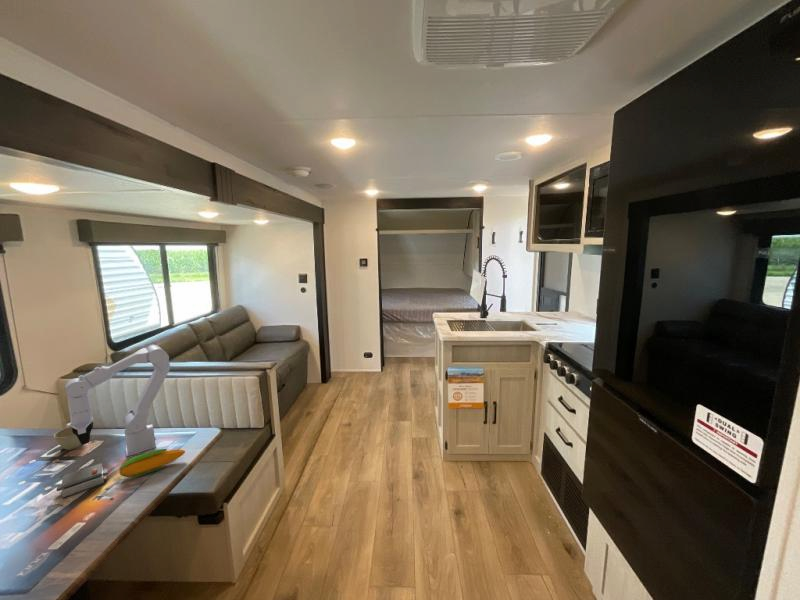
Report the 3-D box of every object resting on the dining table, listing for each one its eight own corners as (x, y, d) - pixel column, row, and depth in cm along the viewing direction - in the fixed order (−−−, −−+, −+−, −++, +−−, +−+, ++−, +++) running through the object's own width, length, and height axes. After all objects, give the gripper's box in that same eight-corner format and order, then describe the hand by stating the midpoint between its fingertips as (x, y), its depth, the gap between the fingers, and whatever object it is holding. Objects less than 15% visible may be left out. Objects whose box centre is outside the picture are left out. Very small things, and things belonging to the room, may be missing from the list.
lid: (102, 465, 119) (101, 459, 119) (102, 476, 113) (101, 470, 113) (63, 478, 113) (62, 471, 112) (61, 490, 106) (60, 483, 106)
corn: (118, 455, 118) (183, 437, 130) (121, 473, 119) (185, 453, 132) (117, 468, 112) (185, 447, 124) (120, 486, 114) (186, 463, 126)
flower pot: (87, 436, 142) (84, 421, 141) (92, 444, 136) (90, 429, 135) (54, 447, 134) (51, 432, 133) (59, 456, 128) (56, 440, 127)
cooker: (108, 471, 120) (107, 464, 120) (108, 482, 115) (107, 474, 114) (59, 488, 112) (57, 480, 111) (57, 500, 106) (55, 492, 106)
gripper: (66, 406, 121) (71, 438, 124) (63, 421, 111) (69, 456, 113) (91, 400, 126) (96, 431, 128) (91, 414, 116) (96, 448, 118)
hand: (85, 443), depth 121 cm, fingers closed
